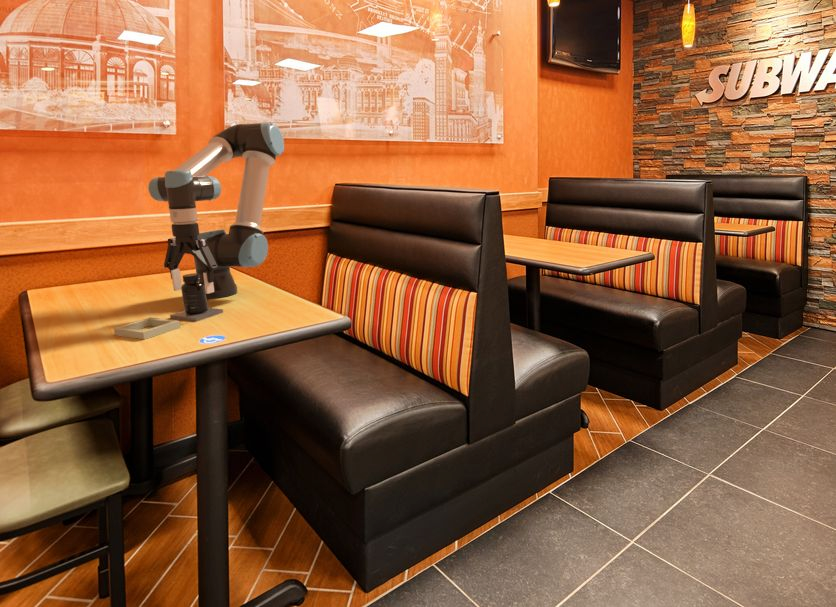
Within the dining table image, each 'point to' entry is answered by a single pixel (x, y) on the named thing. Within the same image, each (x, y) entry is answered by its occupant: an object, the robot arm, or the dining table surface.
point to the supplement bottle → (194, 294)
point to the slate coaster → (196, 315)
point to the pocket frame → (133, 331)
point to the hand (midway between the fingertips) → (193, 291)
